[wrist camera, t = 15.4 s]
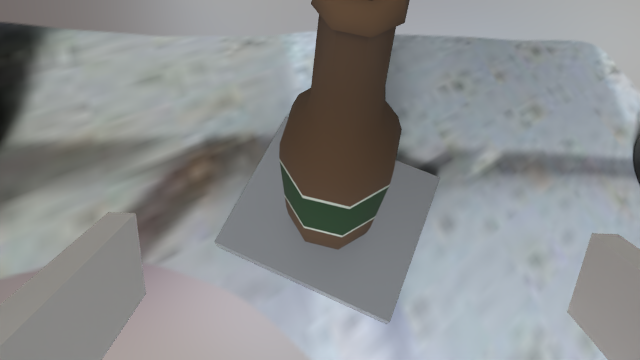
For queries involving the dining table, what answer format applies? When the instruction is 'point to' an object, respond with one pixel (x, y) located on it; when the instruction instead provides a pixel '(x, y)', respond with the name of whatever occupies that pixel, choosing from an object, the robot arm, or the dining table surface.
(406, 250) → the slate board
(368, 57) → the beer bottle
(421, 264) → the dining table surface
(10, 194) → the dining table surface
